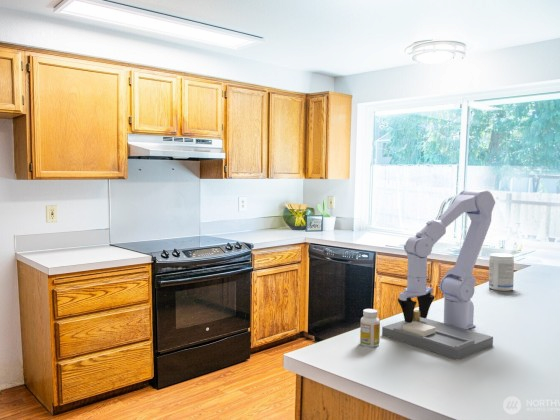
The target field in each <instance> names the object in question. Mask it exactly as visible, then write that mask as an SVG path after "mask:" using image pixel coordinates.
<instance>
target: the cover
mask: <svg viewBox="0 0 560 420" xmlns="http://www.w3.org/2000/svg"><path fill="white" fill-rule="evenodd" d="M403 330H404V331H407V332H411V333H414V334H417V335H420V336H423V337H424V336H427V335H430V334H433V333H436V327H433V326H430V325H426V324H423V323H419V322H416V321H415V322H412V323H408V324H405V325H403Z"/></svg>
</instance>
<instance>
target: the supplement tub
mask: <svg viewBox="0 0 560 420" xmlns="http://www.w3.org/2000/svg"><path fill="white" fill-rule="evenodd" d="M488 259H489V261H488V288H490V289H492V290H493V291H498V292H499V291H501V292H509V291H512V290H513V289H514V275H515V274H514V271H515V269H514V268H515V267H514V266H515V260H514V259H515V258H514V255H513V254H509V253H500V252H499V253H498V252H497V253H496V252H495V253H490V254H489V257H488Z"/></svg>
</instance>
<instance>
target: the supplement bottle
mask: <svg viewBox="0 0 560 420" xmlns="http://www.w3.org/2000/svg"><path fill="white" fill-rule="evenodd" d="M362 312H363V313H362V314H363V316H362V317H361V318H360V339H359V342H360V344H361V346H364V347H367V348H375V347H379V345H380V335H381V334H380V331H381V330H380V329H381V326H380V325H381V324H380V323H381V322H380V321H381V320H380V318H379V317H378V315H379V314H378V310H377V309H376V308H375V309H374V308H365V309H363V310H362Z"/></svg>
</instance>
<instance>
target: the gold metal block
mask: <svg viewBox="0 0 560 420" xmlns="http://www.w3.org/2000/svg"><path fill="white" fill-rule="evenodd" d="M420 316H421V310H419V309H414V312H413V320H412V322H415V321H416V322H420Z"/></svg>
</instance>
